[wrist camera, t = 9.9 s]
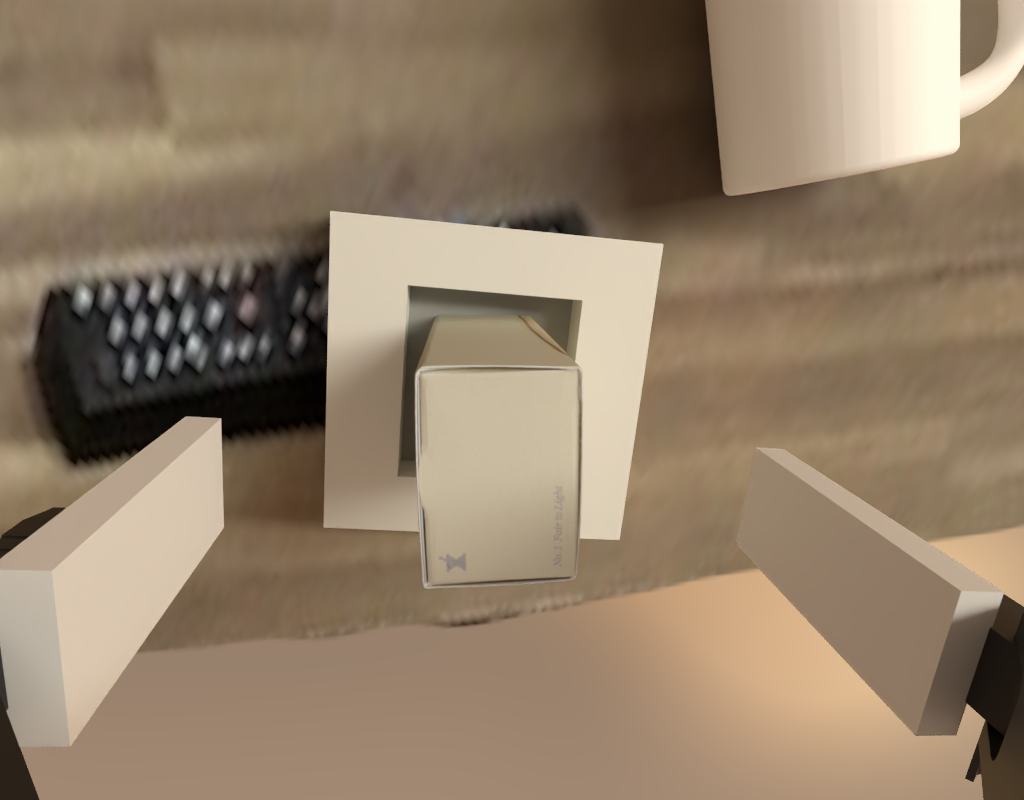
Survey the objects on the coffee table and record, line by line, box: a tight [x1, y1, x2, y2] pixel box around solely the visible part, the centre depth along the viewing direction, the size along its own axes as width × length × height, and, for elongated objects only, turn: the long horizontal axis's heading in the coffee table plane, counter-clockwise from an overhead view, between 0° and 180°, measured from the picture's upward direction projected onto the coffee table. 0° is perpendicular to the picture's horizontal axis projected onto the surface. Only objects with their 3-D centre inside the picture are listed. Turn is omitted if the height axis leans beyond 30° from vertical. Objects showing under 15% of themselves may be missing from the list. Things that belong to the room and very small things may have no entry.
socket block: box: [323, 211, 663, 540], centre depth 27 cm, size 13×13×3 cm
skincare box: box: [414, 315, 583, 589], centre depth 22 cm, size 6×4×12 cm
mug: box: [705, 0, 1024, 196], centre depth 23 cm, size 12×10×8 cm
